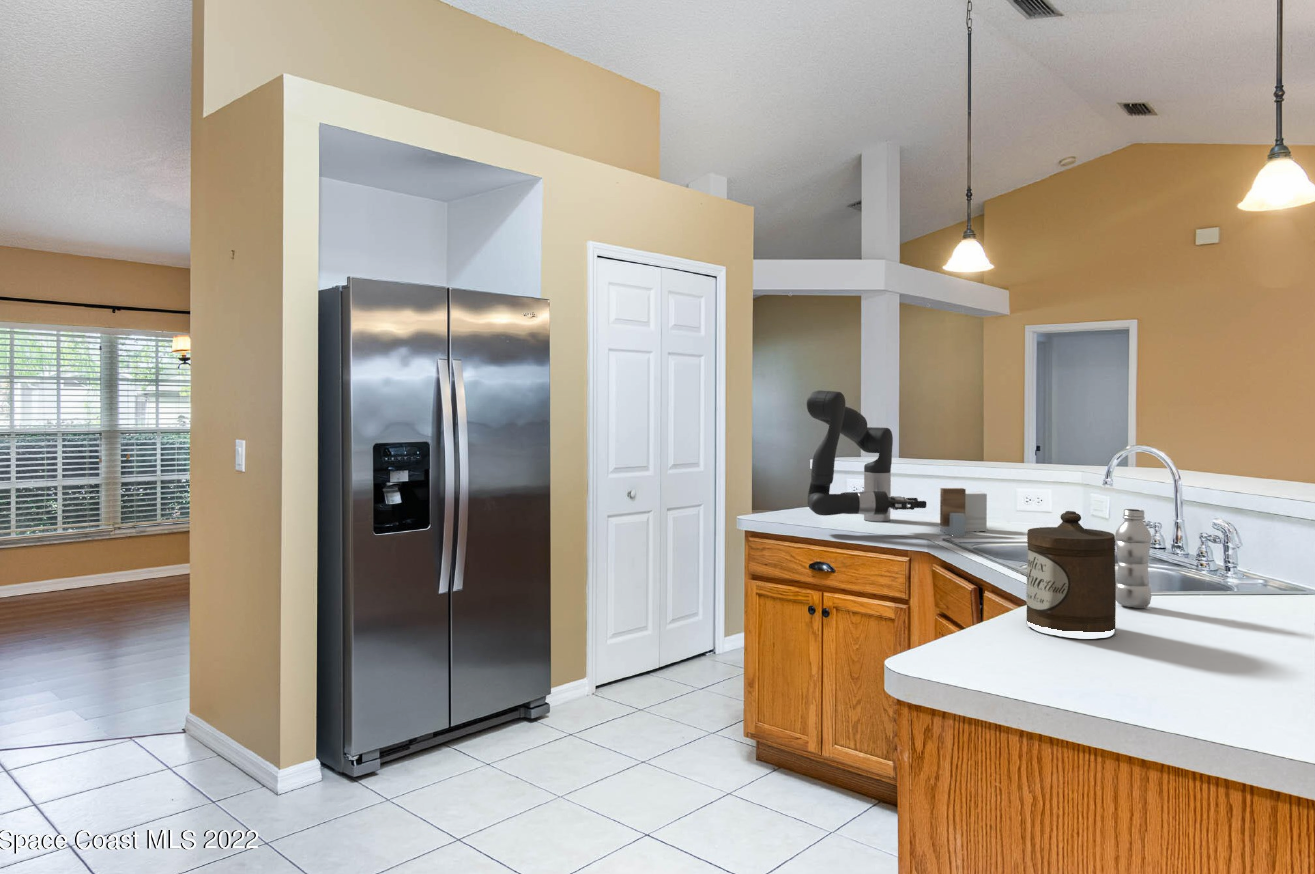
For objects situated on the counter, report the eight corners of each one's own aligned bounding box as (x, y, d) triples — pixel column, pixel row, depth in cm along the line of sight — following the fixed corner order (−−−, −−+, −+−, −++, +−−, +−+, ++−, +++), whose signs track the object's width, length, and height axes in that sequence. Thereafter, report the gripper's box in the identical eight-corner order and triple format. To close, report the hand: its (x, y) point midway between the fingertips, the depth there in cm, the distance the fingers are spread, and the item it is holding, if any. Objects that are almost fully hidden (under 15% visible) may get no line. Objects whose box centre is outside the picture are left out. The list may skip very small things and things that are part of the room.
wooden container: (1013, 618, 161) (1014, 506, 160) (1090, 619, 161) (1092, 506, 160) (1046, 640, 146) (1048, 516, 146) (1131, 640, 146) (1134, 517, 145)
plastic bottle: (1138, 612, 165) (1140, 512, 164) (1106, 605, 171) (1108, 509, 170) (1158, 608, 168) (1160, 510, 167) (1126, 601, 174) (1128, 507, 173)
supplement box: (980, 528, 276) (980, 490, 276) (986, 532, 269) (987, 493, 268) (957, 528, 277) (957, 490, 276) (963, 531, 269) (963, 493, 269)
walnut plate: (940, 525, 267) (940, 488, 267) (961, 525, 267) (962, 488, 266) (943, 526, 264) (943, 489, 264) (965, 526, 264) (965, 489, 264)
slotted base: (940, 530, 272) (940, 509, 271) (951, 530, 272) (951, 509, 271) (953, 536, 260) (953, 514, 259) (964, 536, 260) (964, 514, 259)
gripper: (877, 493, 258) (929, 493, 258) (865, 489, 272) (914, 488, 272) (877, 517, 258) (929, 517, 258) (865, 511, 273) (914, 511, 273)
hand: (921, 502), depth 265 cm, fingers open, 8 cm apart
